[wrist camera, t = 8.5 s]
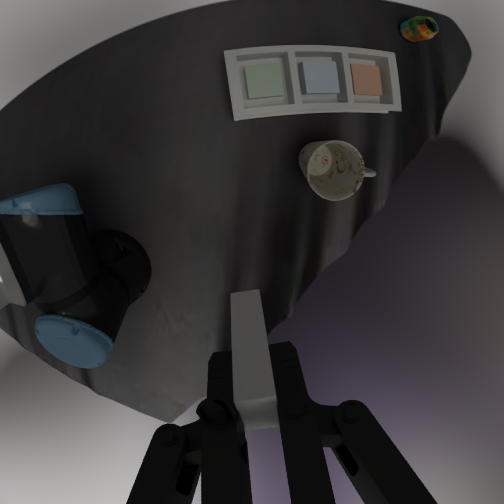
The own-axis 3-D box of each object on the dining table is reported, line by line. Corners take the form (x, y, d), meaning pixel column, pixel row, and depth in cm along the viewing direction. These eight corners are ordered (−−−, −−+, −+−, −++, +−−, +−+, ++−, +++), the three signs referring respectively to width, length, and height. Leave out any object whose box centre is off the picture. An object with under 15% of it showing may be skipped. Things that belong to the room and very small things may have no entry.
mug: (292, 132, 40) (309, 137, 32) (363, 140, 41) (393, 148, 33) (289, 182, 44) (304, 199, 36) (357, 186, 45) (385, 204, 36)
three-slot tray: (234, 120, 39) (234, 120, 34) (224, 56, 34) (223, 47, 29) (383, 112, 39) (401, 114, 34) (377, 55, 34) (394, 50, 29)
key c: (348, 94, 36) (354, 93, 34) (345, 65, 34) (350, 63, 31) (375, 95, 36) (382, 95, 34) (372, 68, 34) (378, 66, 31)
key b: (302, 94, 35) (306, 93, 33) (298, 64, 33) (302, 61, 30) (334, 93, 35) (339, 92, 33) (330, 64, 33) (335, 61, 30)
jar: (419, 43, 32) (444, 38, 25) (401, 42, 32) (426, 35, 25) (412, 23, 30) (436, 15, 23) (394, 21, 30) (417, 11, 23)
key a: (248, 99, 36) (249, 98, 34) (243, 69, 34) (244, 66, 31) (281, 96, 36) (284, 95, 34) (277, 66, 34) (279, 63, 31)
